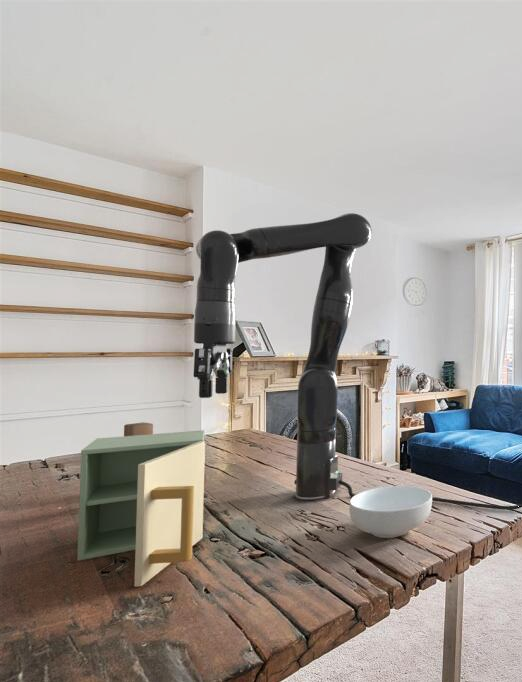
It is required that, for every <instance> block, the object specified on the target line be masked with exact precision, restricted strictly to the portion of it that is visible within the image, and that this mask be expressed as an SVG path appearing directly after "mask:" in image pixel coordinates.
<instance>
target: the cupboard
mask: <svg viewBox="0 0 522 682" xmlns="http://www.w3.org/2000/svg"><path fill="white" fill-rule="evenodd" d="M199 441H205V429H202V430H187V431H176V432H164V433H153V434H149V435H136V436H124V435H123V436H113V437H112V436H111V437H110V436H109V437H101V438H100V437H99V438H98V437H97V438H96V439H94V440H93V441H91V442H90V443H89V444H87V446H85V447H84V448H82V449H81V450H80V472H79V474H80V475H79V503H78V504H79V505H78V527H77V528H78V532H77V556H76V557H77V561H82V560H89V559H93V558H94V559H95V558H99V557H103V556H110V555H115V554H119V553H125V552H130V551H136V520H137V488H138V465H139V464H141V463H144V462H147V461H149V460H152V459H155V458H157V457H160V456H162V455H165V454H168V453H170V452H173V451H176V450H178V449H181V448H184V447H186V446H189V445H192V444H194V443H197V442H199Z"/></svg>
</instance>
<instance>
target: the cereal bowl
mask: <svg viewBox="0 0 522 682" xmlns="http://www.w3.org/2000/svg"><path fill="white" fill-rule="evenodd" d="M432 497H433V494H432V493H431V492H430V491H429V490H428V489H425V488H423V487H418V486H413V485H389V486H387V485H386V486H380V487H376V488H371V489H368V490H363V491H361V492H359V493H357V494H355V496H354V497H351V498H350V500H349V505H348V506H349V515H350V516H349V517H350V519H351V522H352V523H353V524H354V526H355V527H356V528H358V529H359V530H361V531H362V532H364V533H368V534H372V535H373V536H374V537H377V538H381V539H392V538H399V537H401V536H404V535H406V534H407V533H409V532H410V531H412V530H414V529H416V528H418V527H419V526H421V525H422V524H423V523H424V522H425V521H426V520H427V519H428V517H429V516H430V513H431V511H432V506H433V501H432Z"/></svg>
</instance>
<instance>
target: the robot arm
mask: <svg viewBox="0 0 522 682" xmlns="http://www.w3.org/2000/svg"><path fill="white" fill-rule="evenodd" d="M371 236H372V225H371V224H370V222H369V220H368V219H367V218H366V217H364V216H363V215H362V214H358V213H353V212H349V213H344V214H341V215H339V216H337V217H335V218H331V219H326V220H322V221H315V222H307V223H300V224H299V223H298V224H297V223H296V224H286V225H285V224H284V225H275V226H265V227H255V228H249V229H247V230H245V231H242V232H237V233H228V232H226V231H224V230H219V229H218V230H217V229H216V230H211V231H208V232H206V233H205V234H203V236H201V238H200V239H199V240H198V241H197V243H196V246H195V253H196V255H197V258H198V259H199V260H200V263H199V264H200V265H199V266H200V267H199V268H200V270H199V271H200V273H199V276H198V279H197V281H196V282H197V283H196V302H195V303H196V304H195V307H194V323H193V324H194V328H193V331H194V332H193V342H194V343H195V344H201V345H202V348H194V358H193V359H194V360H193V378H197V380H198V397H199V398H200V399H210V398H212V397H213V389H215V390H214V391H215V394H217V395H218V394H223V395H224V394H227V393H228V386H229V385H228V381H229V377H230V374H231V375H232V373H233V349H232V348H227V345H233V344H235V343H236V327H237V326H236V324H237V323H236V322H237V320H236V319H237V313H236V312H237V311H236V284H235V283H236V276H237V270H238V264H239V263H243V262H248V261H251V260H259V259H260V260H261V259H269V258H275V257H282V256H287V255H292V254H297V253H302V252H305V251H309V250H314V249H319V248H325V250H324V260H323V266H322V270H321V274H320V277H319V283H318V288H317V292H316V296H315V300H314V304H313V309H312V315H311V316H312V317H311V325H310V326H311V327H310V328H311V329H310V344H309V350H308V354H307V358H306V361H305V364H304V368H303V369H302V373H301V375H300V378H299V381H298V384H297V416H296V417H297V418H296V419H297V422H296V424H297V426H296V427H297V431H296V433H297V434H296V470H295V472H296V473H295V480H294V485H295V494H294V495H295V496H294V497H295V498H296V500H299V501H316V500H323V499H330V498H331V497H332V496H334V495H335V493H336V492H338V489H339V488H340V487H341V486H343V487H345V488H347V490H348V495H349V497H351V498H352V497H354V496H355V495H356V494H355V493H353V488H352V486H351V485H350V484H349V483H348V482H345V481H344V480H343V472H338V470H339V469H338V468H339V461H338V460H339V455H338V454H336V443H337V441H336V439H337V418H338V391H339V389H338V380H337V366H338V357H339V352H340V349H341V346H342V343H343V340H344V338H345V336H346V333H347V329H348V326H349V323H350V318H351V313H352V308H353V307H352V306H353V302H354V290H353V283H352V277H351V275H352V274H351V269H352V264H353V260H354V256H355V255H354V254H355V252H356V250H357V249H360V248H362V247H364V246H365V245H366V244H368V243H369V241H370V240H371ZM214 375H215V385H214V386H215V387H214V388H213V383H214V382H213V381H214V379H213V378H214ZM432 502H437V503H446V504H452V505H453V504H454V505H462V506H467V507H476V508H485V509H494V510H504V511H512V510H518V509H522V508H521V507H522V503H520V504H515V505H499V504H488V503H480V502H471V501H463V500H457V499H456V500H455V499H450V498H449V499H448V498H442V497H433V496H432ZM518 506H519V507H518Z"/></svg>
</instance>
